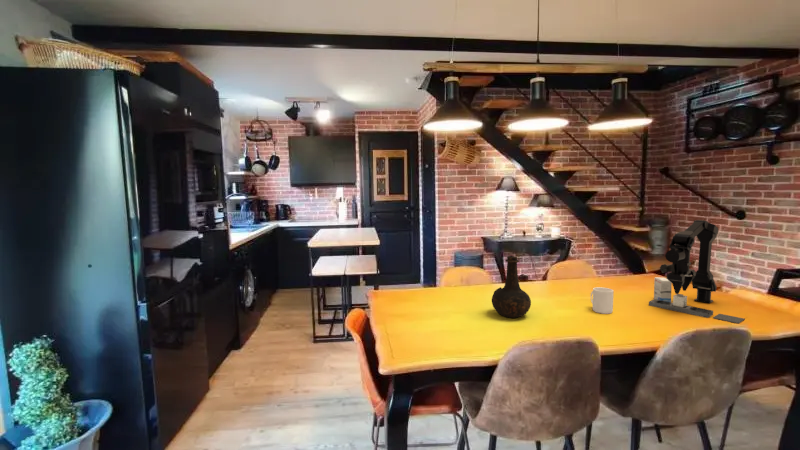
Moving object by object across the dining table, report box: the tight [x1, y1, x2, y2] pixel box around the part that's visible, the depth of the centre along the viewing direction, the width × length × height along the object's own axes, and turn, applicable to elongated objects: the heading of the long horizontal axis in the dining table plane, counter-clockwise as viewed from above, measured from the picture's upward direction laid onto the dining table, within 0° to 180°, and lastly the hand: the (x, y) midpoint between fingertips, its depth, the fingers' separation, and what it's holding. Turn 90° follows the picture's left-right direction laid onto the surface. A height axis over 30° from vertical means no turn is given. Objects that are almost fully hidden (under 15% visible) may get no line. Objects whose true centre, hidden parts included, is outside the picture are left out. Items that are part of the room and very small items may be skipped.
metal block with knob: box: [672, 293, 688, 308], centre depth 184 cm, size 4×4×8 cm
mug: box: [590, 286, 614, 315], centre depth 185 cm, size 9×12×11 cm
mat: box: [712, 313, 746, 325], centre depth 171 cm, size 9×9×1 cm
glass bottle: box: [491, 255, 532, 319], centre depth 179 cm, size 18×18×28 cm
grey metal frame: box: [648, 298, 714, 319], centre depth 184 cm, size 7×24×2 cm, turn 36°
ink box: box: [653, 276, 673, 302], centre depth 198 cm, size 9×5×12 cm, turn 168°
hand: (680, 292), depth 184 cm, fingers open, 9 cm apart
